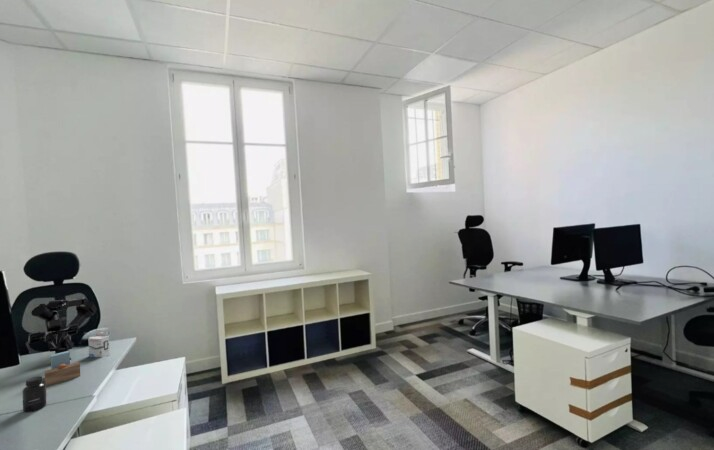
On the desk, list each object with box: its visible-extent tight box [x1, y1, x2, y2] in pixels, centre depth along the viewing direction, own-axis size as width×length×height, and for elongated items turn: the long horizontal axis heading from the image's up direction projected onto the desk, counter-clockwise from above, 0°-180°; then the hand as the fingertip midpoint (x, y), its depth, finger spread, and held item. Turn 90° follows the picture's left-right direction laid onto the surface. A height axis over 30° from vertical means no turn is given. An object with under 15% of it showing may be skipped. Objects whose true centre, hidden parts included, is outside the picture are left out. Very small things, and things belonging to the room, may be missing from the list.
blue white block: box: [50, 350, 71, 369], centre depth 156 cm, size 4×6×11 cm, turn 140°
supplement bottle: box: [22, 375, 47, 413], centre depth 130 cm, size 7×7×12 cm
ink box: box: [87, 329, 111, 358], centre depth 180 cm, size 8×5×15 cm, turn 84°
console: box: [42, 361, 81, 387], centre depth 155 cm, size 13×12×8 cm
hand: (57, 347), depth 163 cm, fingers closed
